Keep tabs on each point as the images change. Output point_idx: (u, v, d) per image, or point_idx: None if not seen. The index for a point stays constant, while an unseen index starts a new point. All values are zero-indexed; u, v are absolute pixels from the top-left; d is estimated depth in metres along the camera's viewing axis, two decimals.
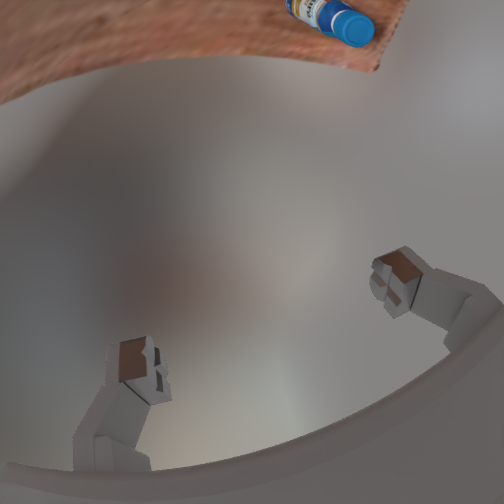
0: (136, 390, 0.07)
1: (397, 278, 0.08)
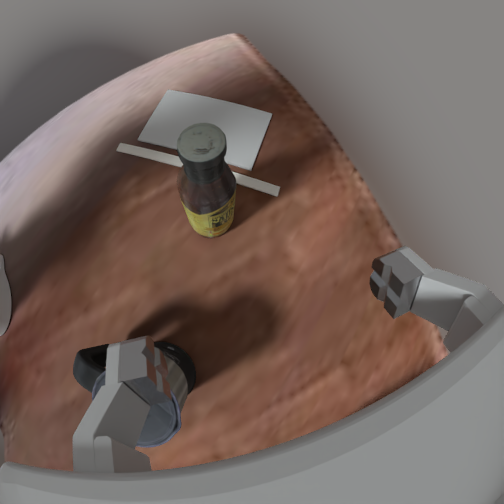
0: (136, 390, 0.07)
1: (397, 278, 0.08)
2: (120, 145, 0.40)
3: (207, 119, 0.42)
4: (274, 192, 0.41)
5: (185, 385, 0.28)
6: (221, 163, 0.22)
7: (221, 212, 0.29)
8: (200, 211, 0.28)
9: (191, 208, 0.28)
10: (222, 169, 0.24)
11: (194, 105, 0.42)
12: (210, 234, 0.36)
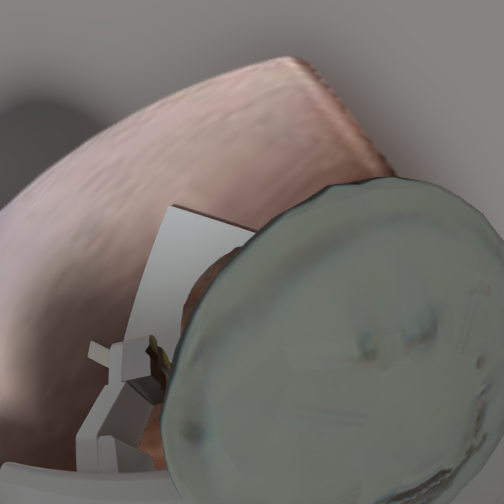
0: (139, 389, 0.07)
1: None
2: (92, 347, 0.20)
3: None
4: None
5: None
6: None
7: None
8: None
9: None
10: None
11: None
12: None
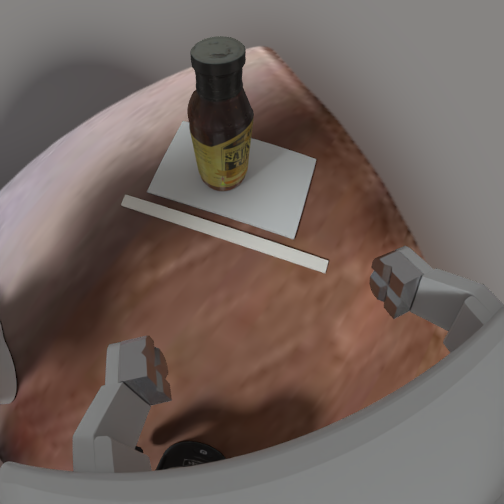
0: (136, 390, 0.07)
1: (397, 278, 0.08)
2: (125, 198, 0.34)
3: None
4: (321, 268, 0.33)
5: None
6: (239, 75, 0.18)
7: (237, 145, 0.25)
8: (212, 141, 0.23)
9: (202, 138, 0.23)
10: (239, 85, 0.19)
11: None
12: (222, 183, 0.31)
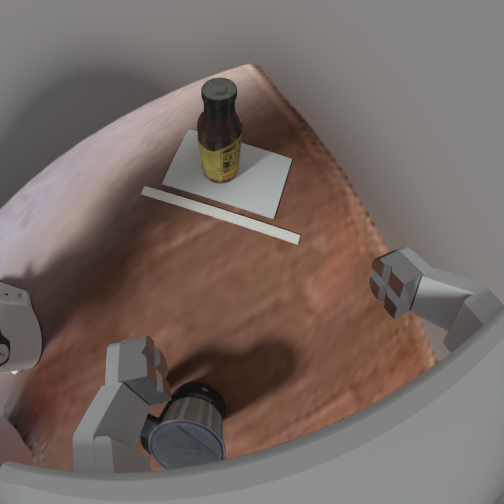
0: (136, 390, 0.07)
1: (397, 278, 0.08)
2: (144, 188, 0.44)
3: None
4: (295, 240, 0.45)
5: (222, 424, 0.32)
6: (232, 105, 0.29)
7: (231, 150, 0.36)
8: (214, 148, 0.34)
9: (207, 146, 0.34)
10: (233, 111, 0.30)
11: None
12: (220, 177, 0.42)
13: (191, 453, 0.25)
